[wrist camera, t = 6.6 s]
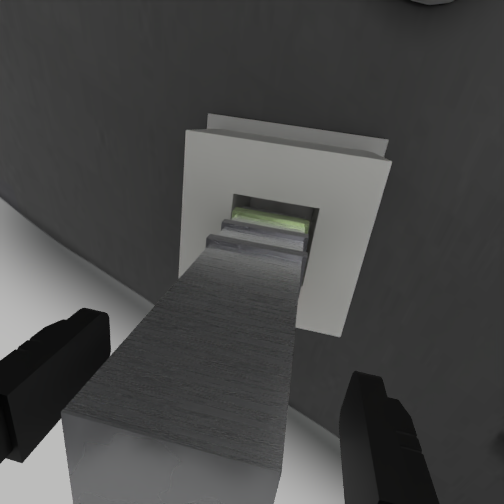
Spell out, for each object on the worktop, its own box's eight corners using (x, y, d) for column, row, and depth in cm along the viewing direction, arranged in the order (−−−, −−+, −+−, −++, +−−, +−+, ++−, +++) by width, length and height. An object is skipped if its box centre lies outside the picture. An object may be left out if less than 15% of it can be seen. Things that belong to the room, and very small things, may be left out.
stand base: (210, 113, 26) (163, 108, 18) (386, 139, 25) (422, 146, 16) (199, 267, 32) (158, 317, 23) (342, 296, 30) (352, 361, 22)
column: (240, 202, 20) (49, 401, 6) (309, 214, 20) (295, 468, 5) (233, 264, 22) (71, 541, 7) (296, 277, 21) (257, 602, 7)
